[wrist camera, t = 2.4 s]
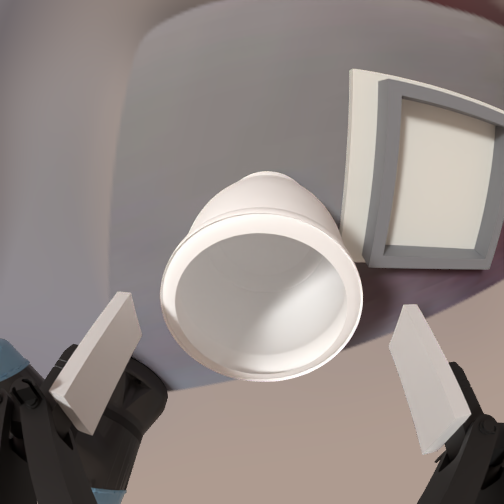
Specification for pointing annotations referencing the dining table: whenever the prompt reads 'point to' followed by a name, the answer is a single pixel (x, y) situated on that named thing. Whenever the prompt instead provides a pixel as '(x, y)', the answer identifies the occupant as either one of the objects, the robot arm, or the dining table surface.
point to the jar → (262, 283)
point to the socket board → (421, 175)
